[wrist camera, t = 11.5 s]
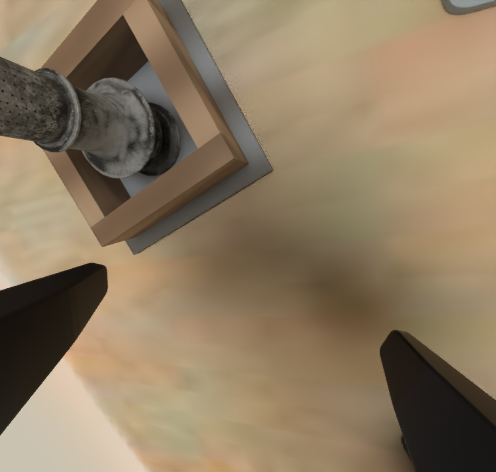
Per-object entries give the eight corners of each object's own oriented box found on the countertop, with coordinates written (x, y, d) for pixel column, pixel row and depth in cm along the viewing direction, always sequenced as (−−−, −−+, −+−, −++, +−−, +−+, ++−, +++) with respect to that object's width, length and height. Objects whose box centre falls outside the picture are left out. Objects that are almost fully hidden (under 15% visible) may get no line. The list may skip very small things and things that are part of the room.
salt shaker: (188, 102, 17) (-70, -78, 5) (180, 185, 18) (-36, 185, 7) (118, 94, 18) (-216, -66, 6) (116, 173, 19) (-159, 155, 8)
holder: (273, 170, 17) (262, 165, 13) (137, 253, 21) (100, 268, 17) (173, -14, 16) (131, -77, 12) (54, 113, 20) (-5, 96, 16)
